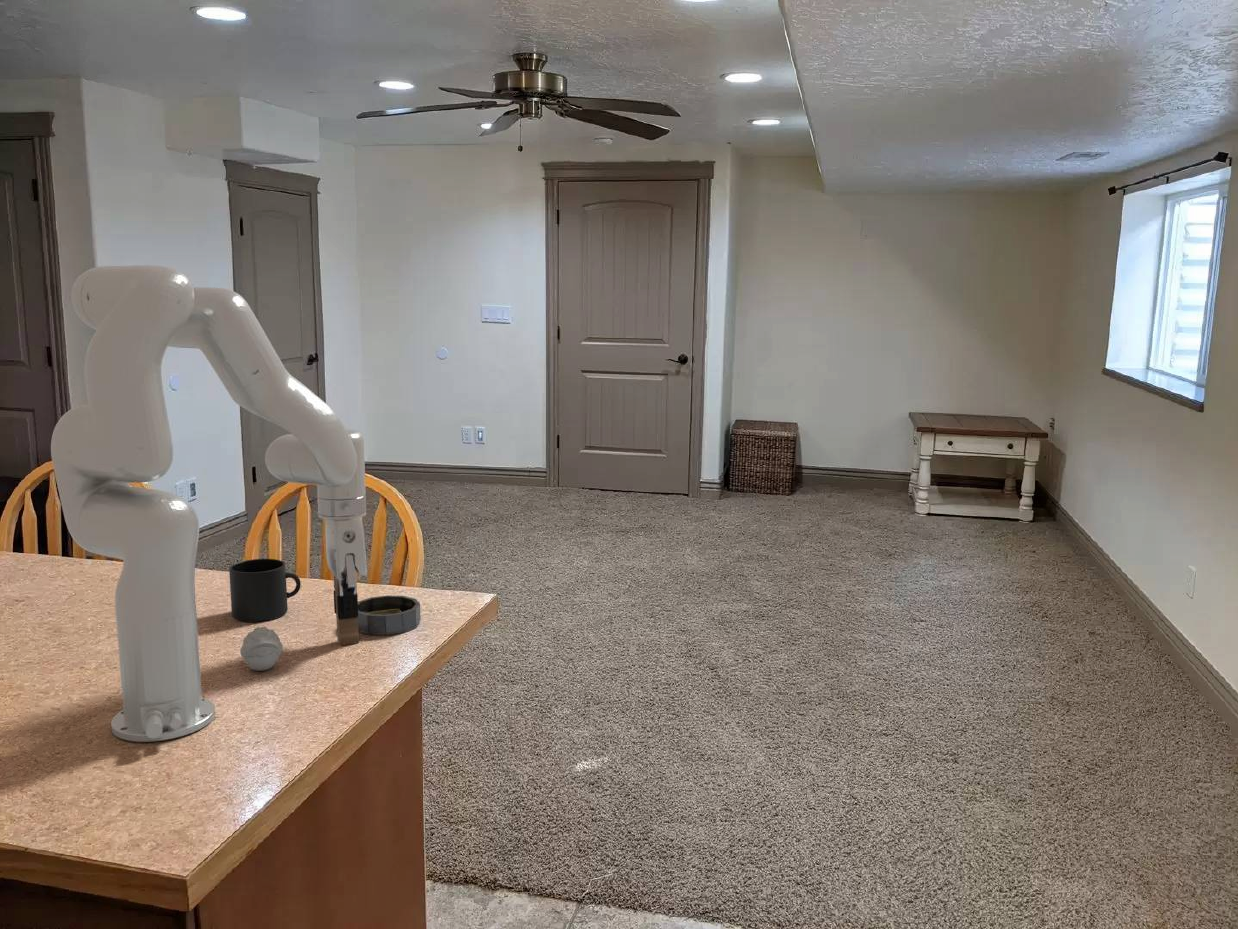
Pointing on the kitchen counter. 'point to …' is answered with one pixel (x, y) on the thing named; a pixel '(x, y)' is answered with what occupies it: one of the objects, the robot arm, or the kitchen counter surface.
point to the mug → (260, 589)
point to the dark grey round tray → (388, 615)
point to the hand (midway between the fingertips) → (346, 614)
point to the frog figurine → (261, 648)
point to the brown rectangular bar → (346, 624)
